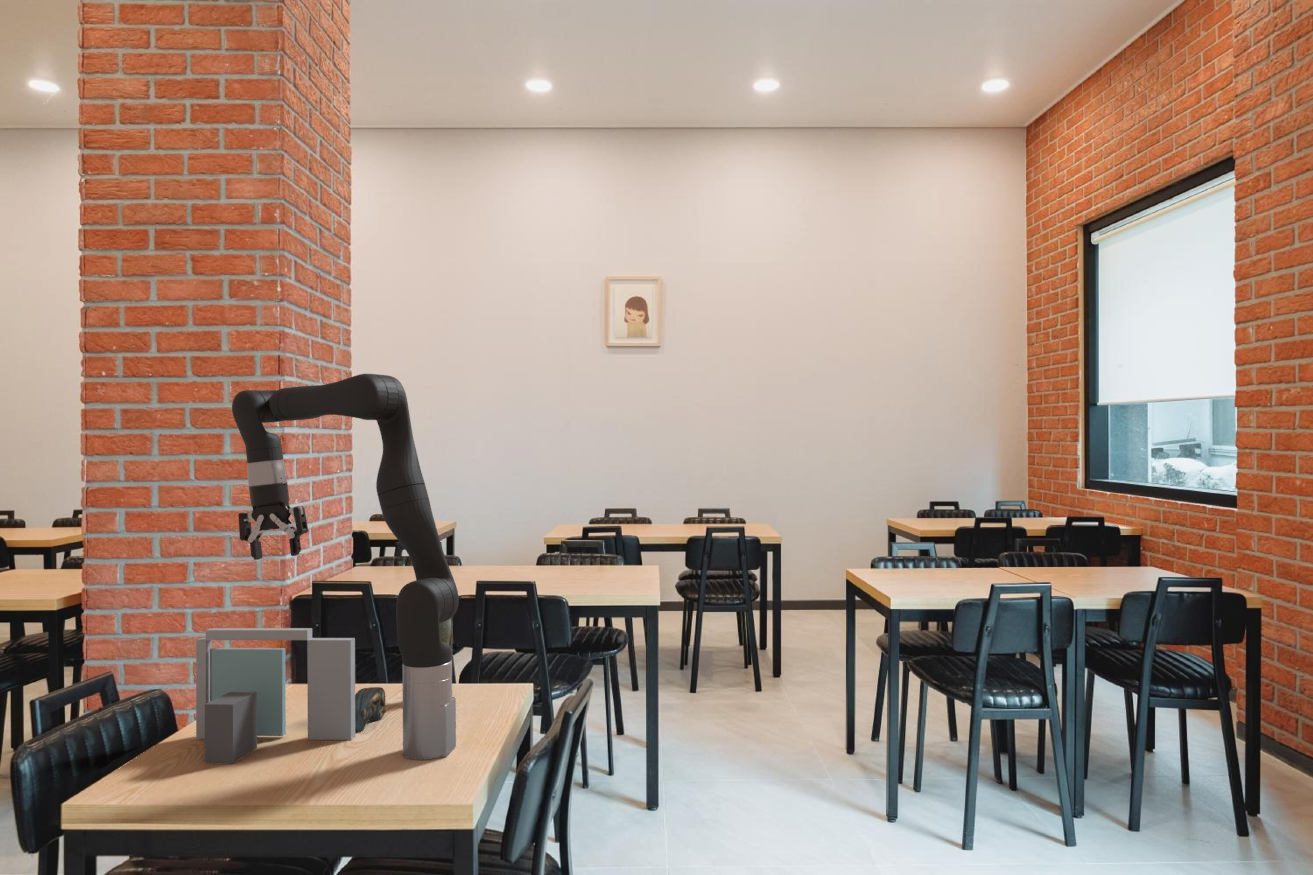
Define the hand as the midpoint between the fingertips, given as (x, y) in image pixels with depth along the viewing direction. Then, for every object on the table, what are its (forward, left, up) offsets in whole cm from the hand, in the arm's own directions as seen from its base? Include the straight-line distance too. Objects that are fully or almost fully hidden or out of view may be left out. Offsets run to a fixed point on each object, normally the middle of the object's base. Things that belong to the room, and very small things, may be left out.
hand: (276, 557), depth 173 cm
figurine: (-28, -20, -36) cm, 50 cm away
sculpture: (-18, -2, -36) cm, 40 cm away
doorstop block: (-1, +18, -36) cm, 40 cm away
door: (+2, +7, -35) cm, 36 cm away
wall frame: (-4, +8, -36) cm, 37 cm away
